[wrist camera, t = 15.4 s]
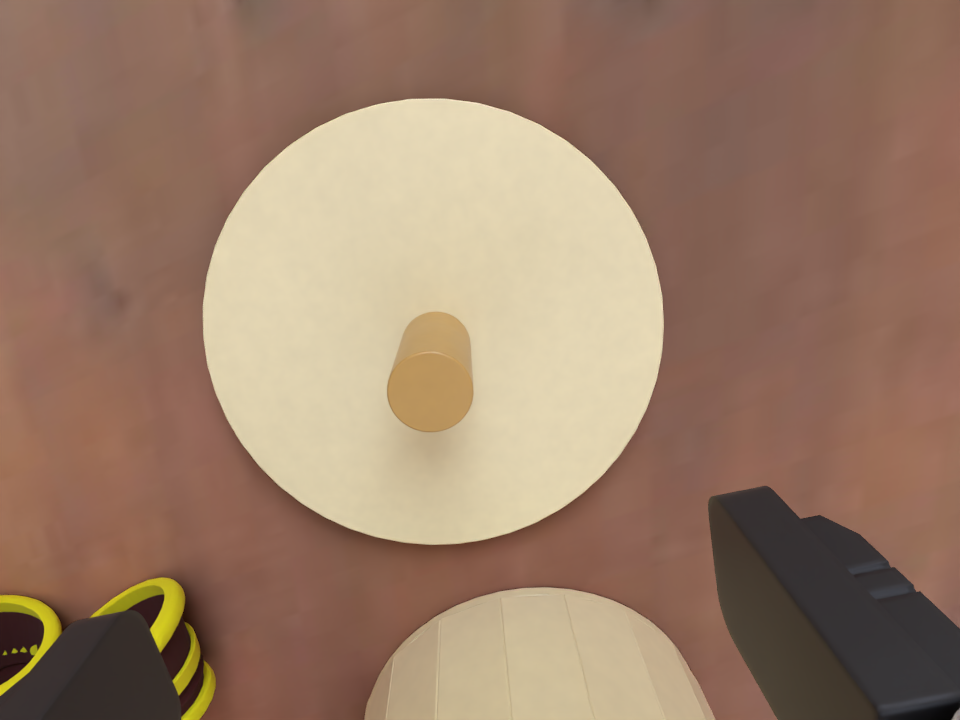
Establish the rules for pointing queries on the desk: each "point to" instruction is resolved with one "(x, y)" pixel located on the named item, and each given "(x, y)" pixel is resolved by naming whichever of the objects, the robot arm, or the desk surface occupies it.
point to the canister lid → (433, 321)
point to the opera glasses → (29, 634)
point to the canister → (537, 664)
